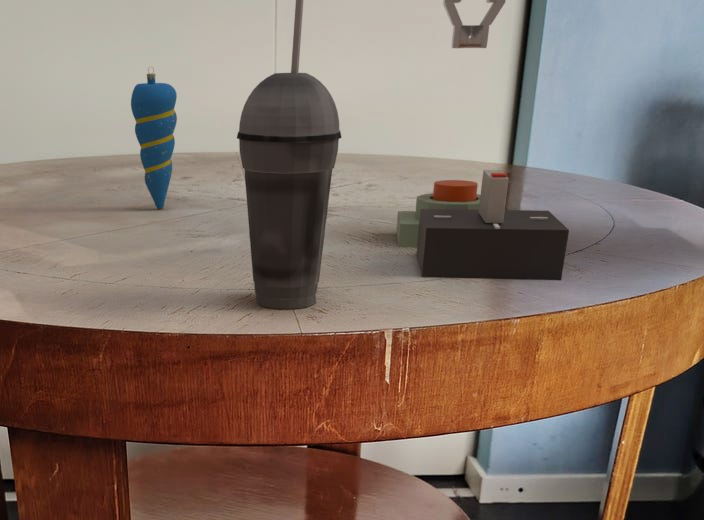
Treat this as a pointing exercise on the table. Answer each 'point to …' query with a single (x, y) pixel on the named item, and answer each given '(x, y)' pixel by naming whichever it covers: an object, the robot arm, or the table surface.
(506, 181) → the knob
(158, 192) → the ornament
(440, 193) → the button
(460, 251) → the block
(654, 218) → the table surface
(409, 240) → the housing
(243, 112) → the beverage cup
